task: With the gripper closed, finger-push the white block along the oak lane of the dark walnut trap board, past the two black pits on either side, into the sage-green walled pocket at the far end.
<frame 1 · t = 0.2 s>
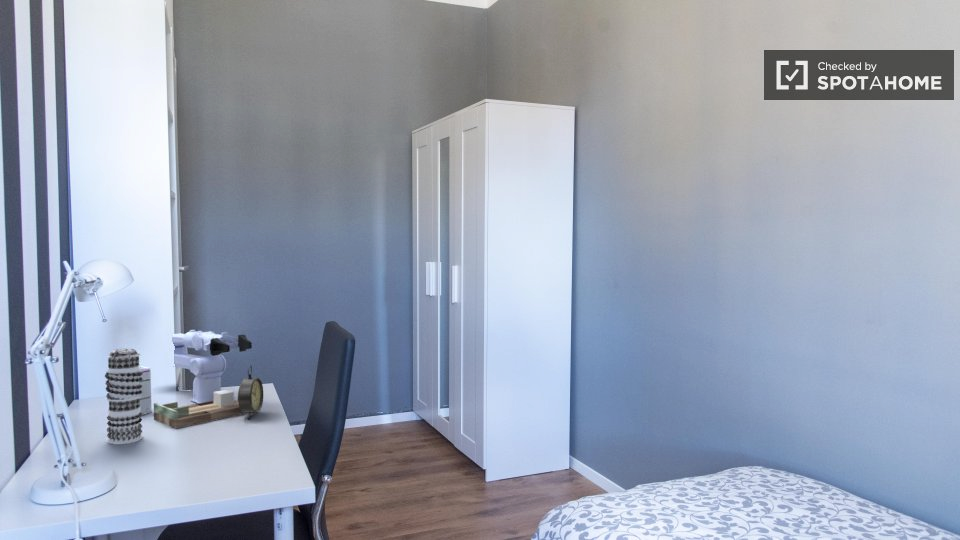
hand: (239, 346, 211), 21 cm above the table, tool horizontal, fingers open, 7 cm apart
trap board: (202, 415, 207), on the table
alarm clock: (250, 416, 208), on the table
white block: (223, 404, 212), point 2 cm above the table, touching trap board
decorative candle: (124, 440, 182), on the table
syrup box: (138, 413, 209), on the table
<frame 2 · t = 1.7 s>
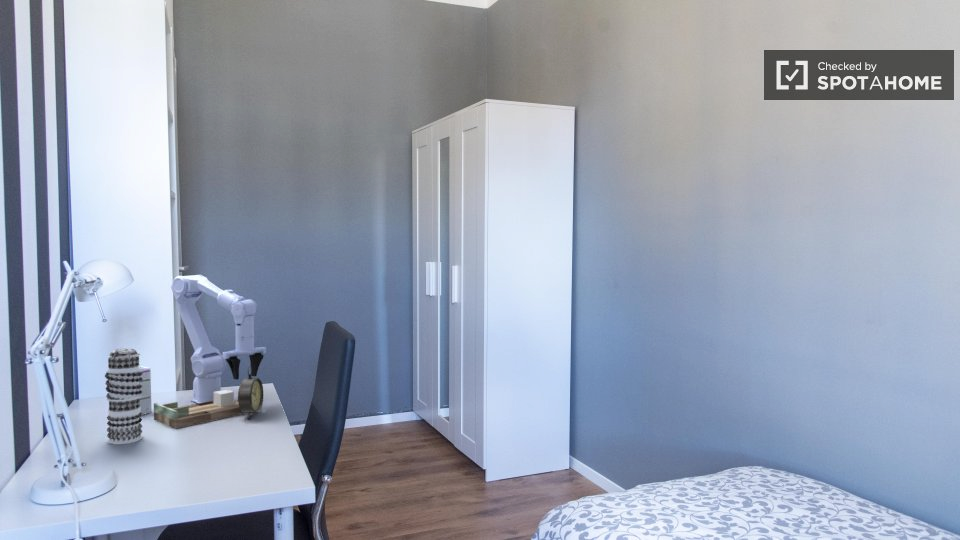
hand: (245, 377, 217), 10 cm above the table, tool pointing down, fingers open, 6 cm apart
nothing on the table moved.
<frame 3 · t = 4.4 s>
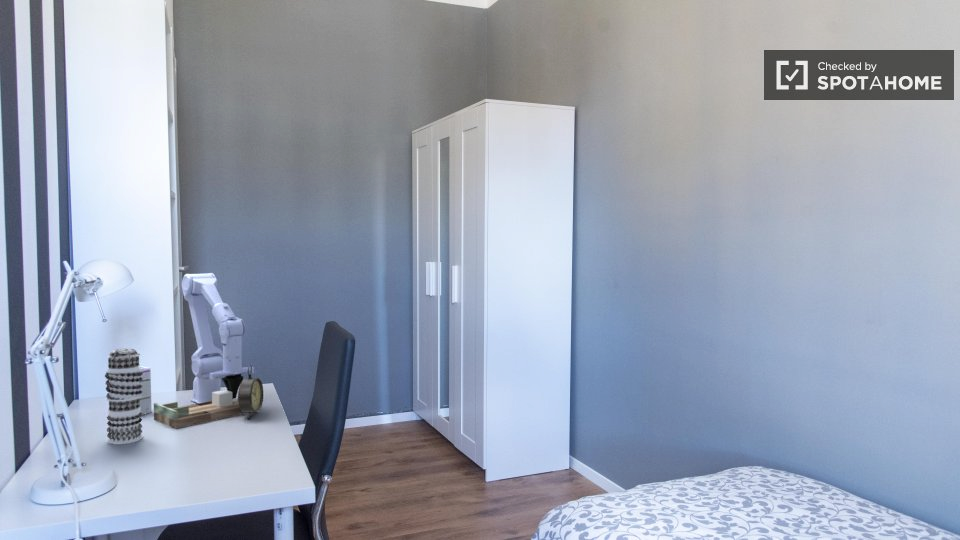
hand: (232, 398, 214), 4 cm above the table, tool pointing down, fingers closed
white block: (222, 404, 212), point 2 cm above the table, touching gripper
everything else where it was.
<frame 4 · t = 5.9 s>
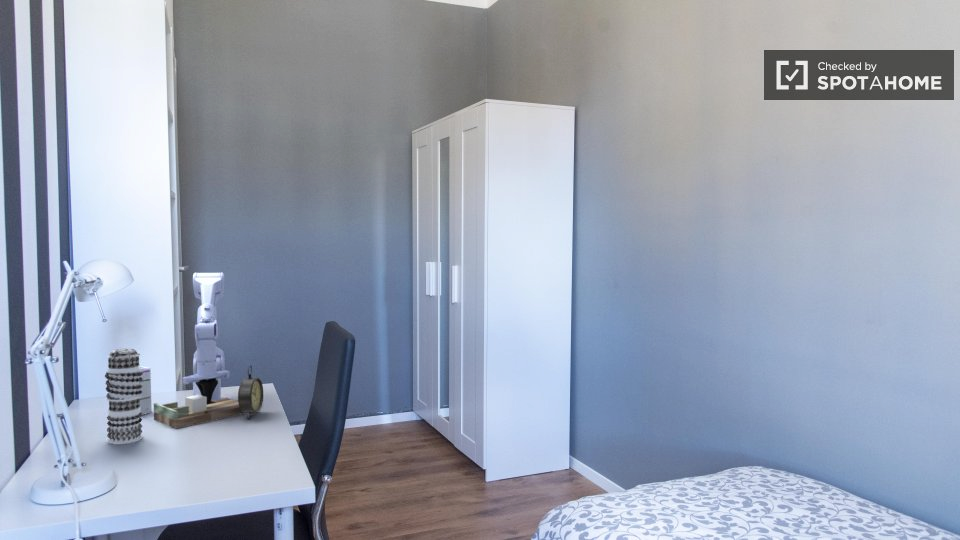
hand: (207, 403, 208), 4 cm above the table, tool pointing down, fingers closed
white block: (196, 409, 205), point 2 cm above the table, touching gripper
everything else where it was.
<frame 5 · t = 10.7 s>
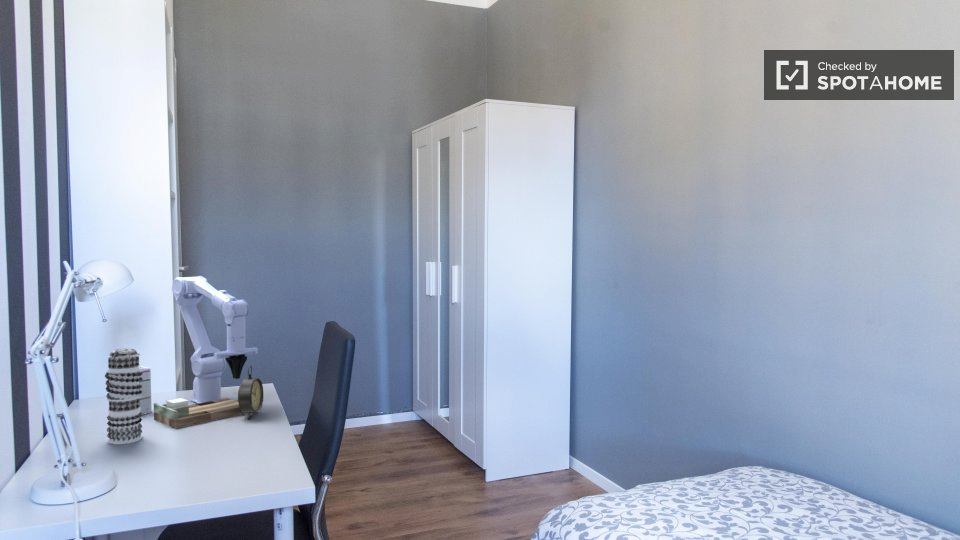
hand: (236, 378, 216), 10 cm above the table, tool pointing down, fingers closed
white block: (177, 413, 200), point 2 cm above the table, touching trap board
everything else where it was.
at the end: white block 0.1 cm from the target spot on the trap board, point 2.4 cm above the trap board's base; white block tilted 0° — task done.
